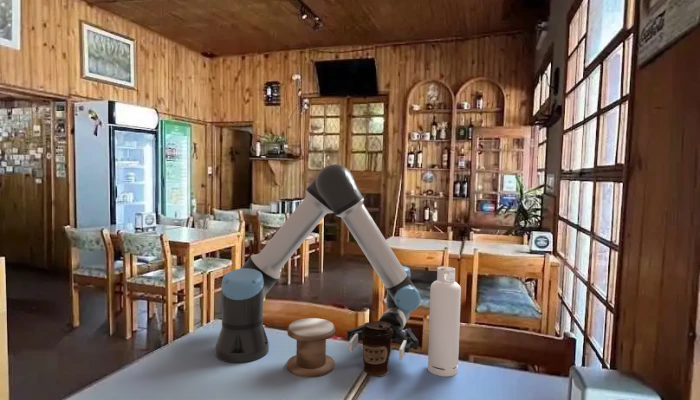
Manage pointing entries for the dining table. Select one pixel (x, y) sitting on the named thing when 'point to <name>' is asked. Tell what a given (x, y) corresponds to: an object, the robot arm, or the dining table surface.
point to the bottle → (444, 323)
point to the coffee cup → (376, 347)
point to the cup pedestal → (311, 347)
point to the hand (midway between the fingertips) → (374, 350)
